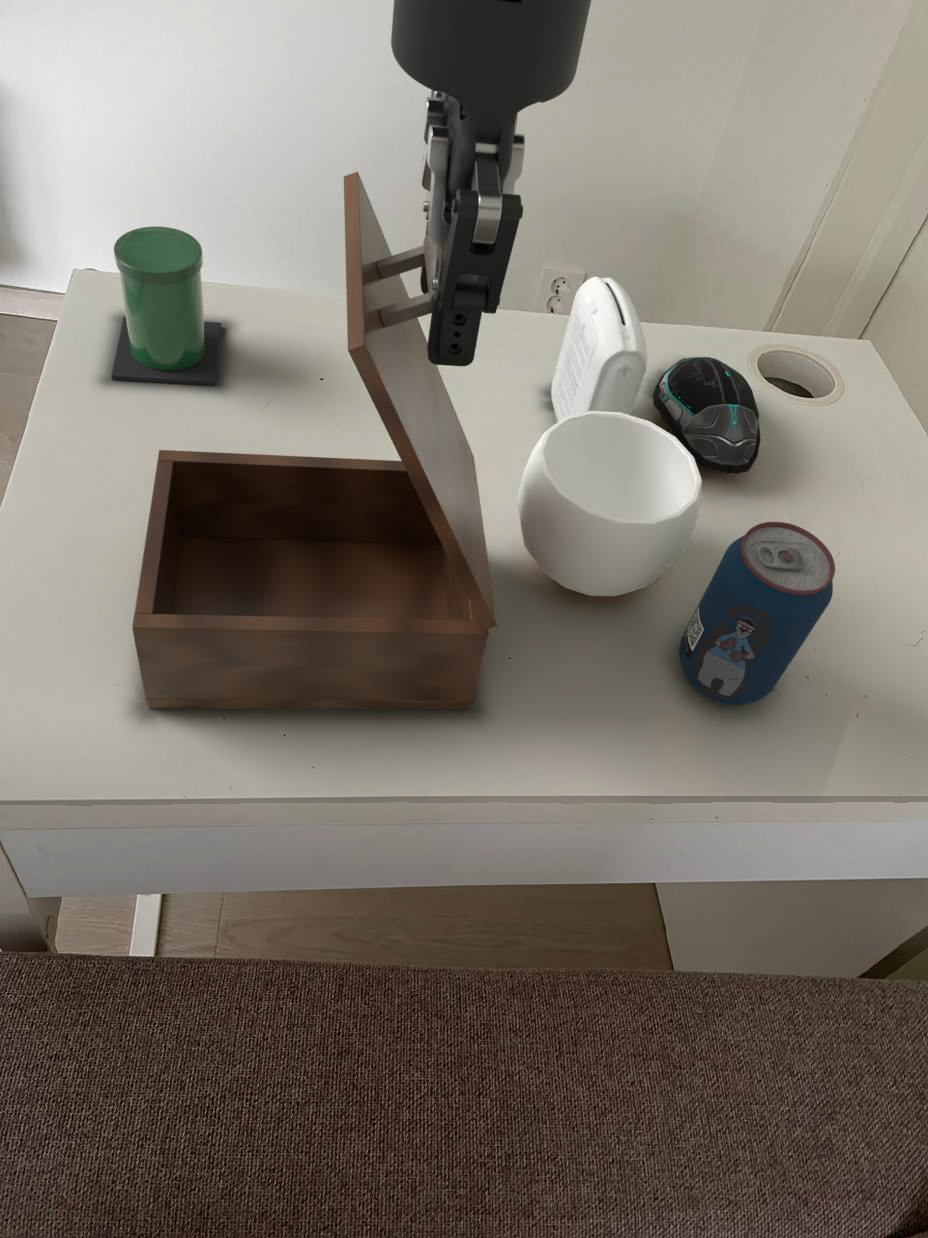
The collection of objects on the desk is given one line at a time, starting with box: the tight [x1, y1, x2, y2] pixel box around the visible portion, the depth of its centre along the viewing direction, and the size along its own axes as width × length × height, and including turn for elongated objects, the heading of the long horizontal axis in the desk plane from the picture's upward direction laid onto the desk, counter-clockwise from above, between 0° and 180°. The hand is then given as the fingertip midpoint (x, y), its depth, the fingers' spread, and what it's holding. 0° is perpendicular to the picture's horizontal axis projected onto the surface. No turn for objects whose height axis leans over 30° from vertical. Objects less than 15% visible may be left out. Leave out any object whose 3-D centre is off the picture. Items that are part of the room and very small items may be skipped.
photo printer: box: [550, 275, 648, 423], centre depth 79 cm, size 10×4×12 cm, turn 8°
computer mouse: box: [652, 356, 762, 475], centre depth 84 cm, size 9×17×6 cm, turn 1°
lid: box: [343, 171, 498, 630], centre depth 54 cm, size 21×14×5 cm
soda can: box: [678, 521, 836, 706], centre depth 65 cm, size 7×7×12 cm
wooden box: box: [131, 449, 490, 711], centre depth 64 cm, size 20×14×8 cm
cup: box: [516, 411, 703, 597], centre depth 70 cm, size 12×12×10 cm
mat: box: [111, 315, 222, 386], centre depth 82 cm, size 8×8×1 cm
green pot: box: [113, 225, 206, 371], centre depth 79 cm, size 6×6×9 cm
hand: (445, 324), depth 50 cm, fingers closed on lid, 5 cm apart
